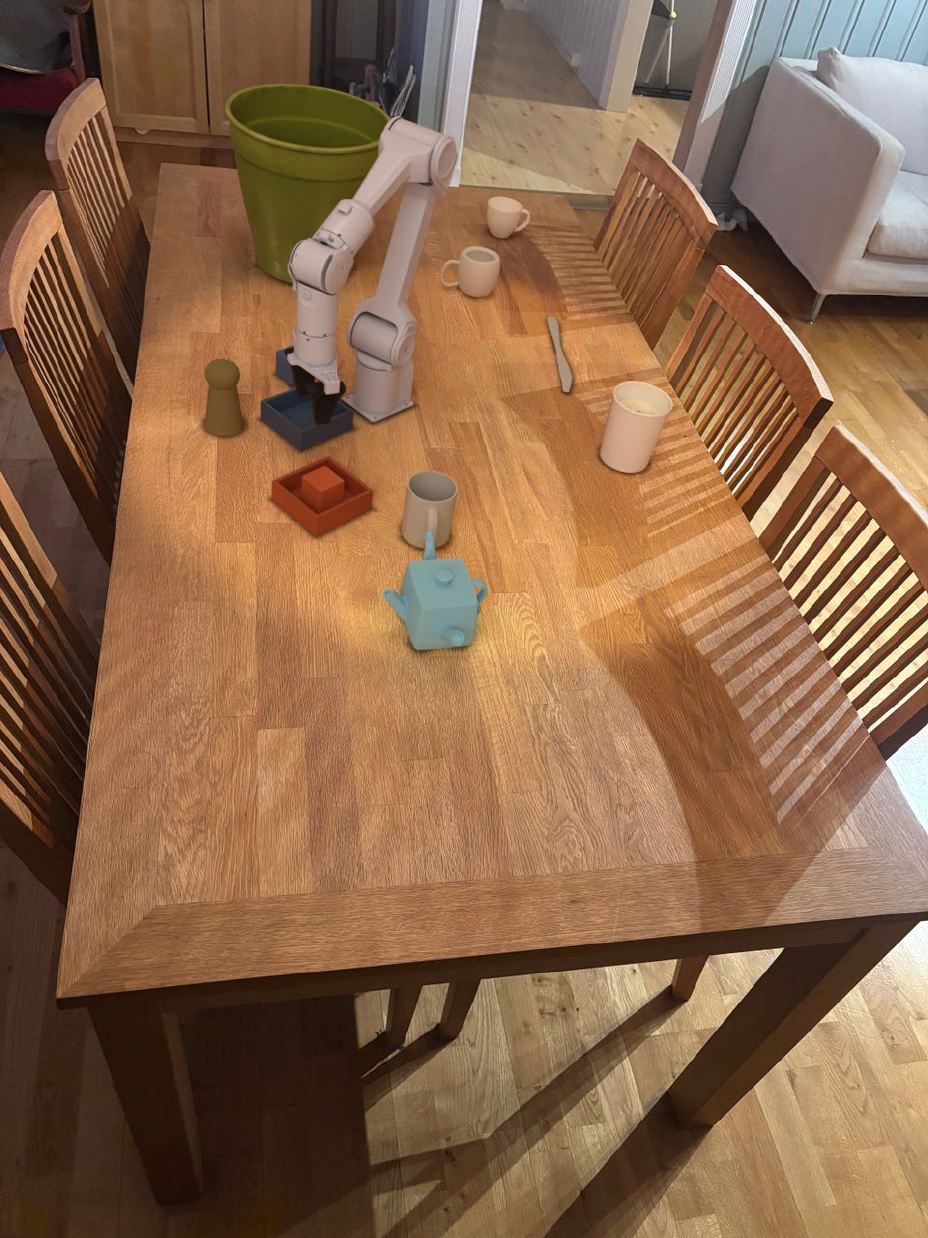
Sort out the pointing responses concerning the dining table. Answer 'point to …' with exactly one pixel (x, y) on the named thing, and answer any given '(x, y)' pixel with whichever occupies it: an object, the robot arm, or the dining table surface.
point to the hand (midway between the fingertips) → (313, 408)
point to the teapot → (438, 601)
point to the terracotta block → (322, 489)
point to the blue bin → (303, 419)
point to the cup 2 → (505, 216)
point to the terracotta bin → (353, 504)
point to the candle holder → (634, 425)
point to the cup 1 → (428, 507)
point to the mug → (475, 271)
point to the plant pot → (298, 161)
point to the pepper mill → (223, 398)
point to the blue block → (284, 367)
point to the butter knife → (560, 355)
